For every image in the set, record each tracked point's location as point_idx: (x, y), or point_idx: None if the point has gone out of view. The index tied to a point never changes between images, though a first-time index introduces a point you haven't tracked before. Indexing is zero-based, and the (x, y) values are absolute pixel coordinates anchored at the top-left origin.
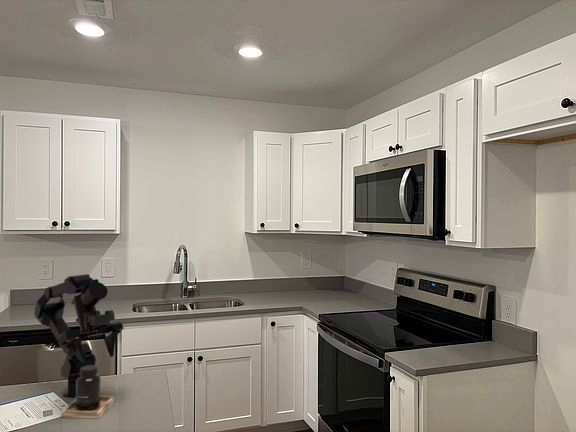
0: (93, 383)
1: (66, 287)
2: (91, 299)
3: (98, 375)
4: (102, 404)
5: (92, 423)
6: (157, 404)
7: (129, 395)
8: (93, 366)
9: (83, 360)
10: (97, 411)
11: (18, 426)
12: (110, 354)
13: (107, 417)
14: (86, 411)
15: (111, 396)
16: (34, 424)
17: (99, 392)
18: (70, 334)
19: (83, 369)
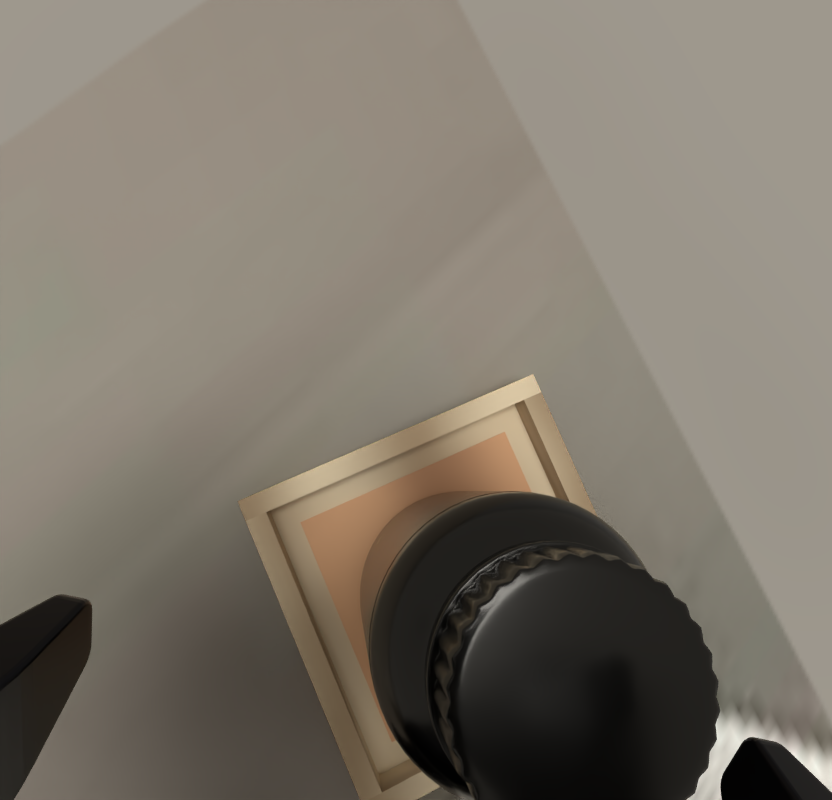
0: (562, 499)
1: None
2: None
3: (429, 577)
4: (362, 519)
5: (589, 371)
6: (131, 145)
7: (76, 480)
8: (503, 679)
9: (816, 782)
10: (528, 400)
11: None
12: (56, 697)
13: (476, 343)
14: (568, 480)
15: (254, 521)
16: (792, 736)
17: (437, 500)
18: None
19: (687, 710)
